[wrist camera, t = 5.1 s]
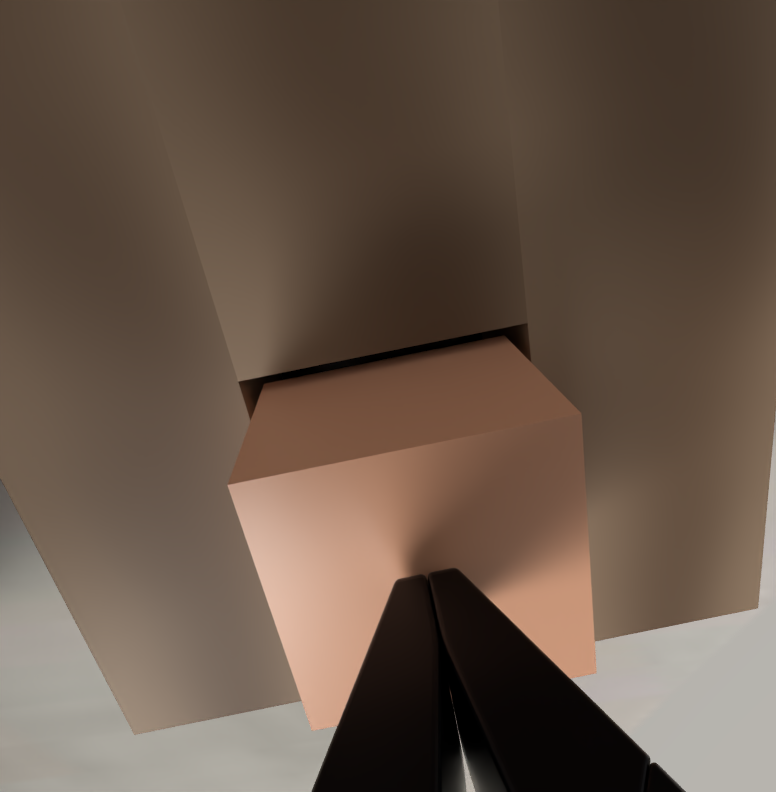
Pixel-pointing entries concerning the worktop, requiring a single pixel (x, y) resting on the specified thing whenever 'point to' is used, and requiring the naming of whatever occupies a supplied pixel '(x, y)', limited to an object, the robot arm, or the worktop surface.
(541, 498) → the terracotta button
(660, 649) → the worktop surface
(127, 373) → the button panel
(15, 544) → the worktop surface
